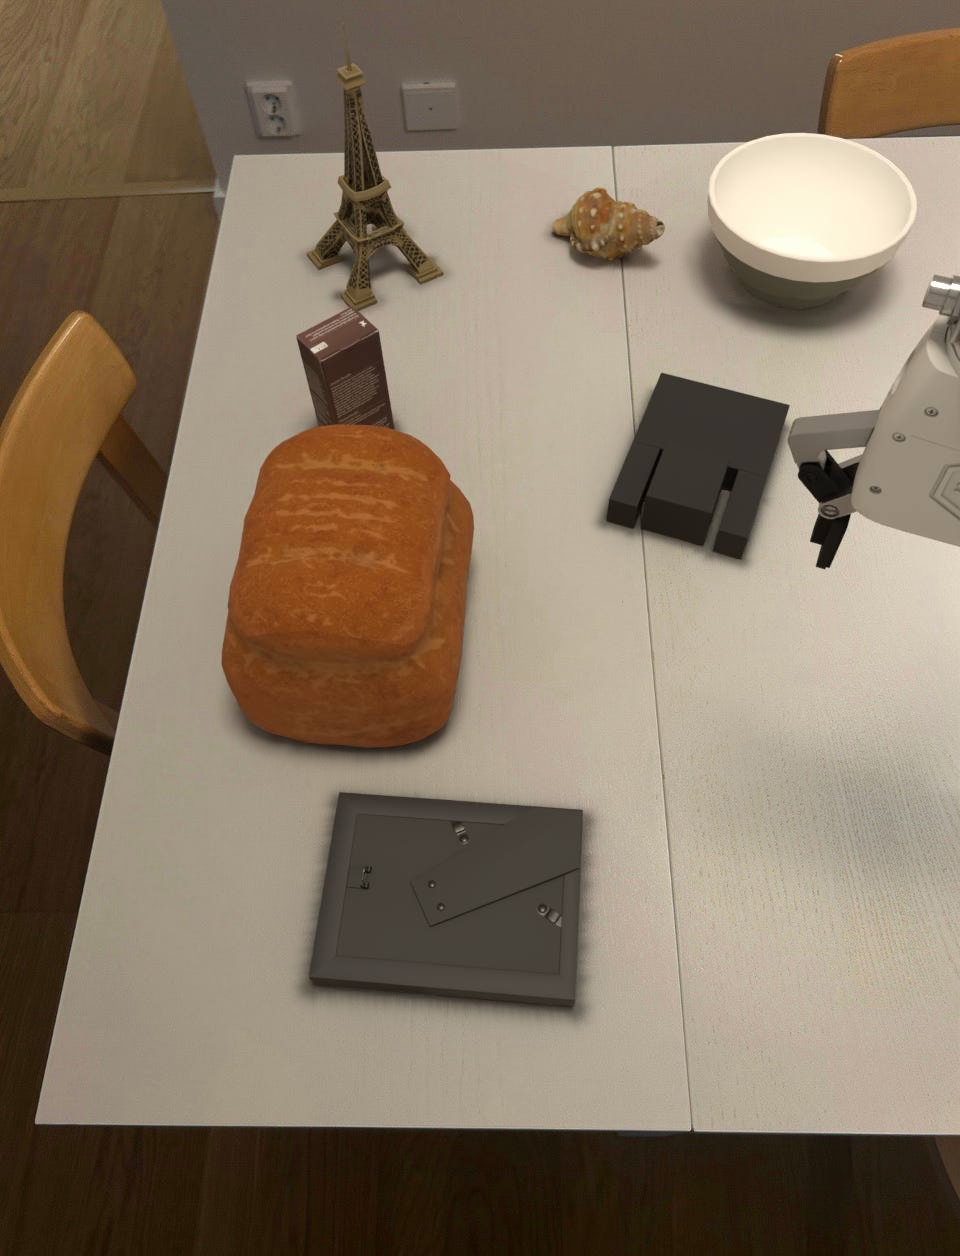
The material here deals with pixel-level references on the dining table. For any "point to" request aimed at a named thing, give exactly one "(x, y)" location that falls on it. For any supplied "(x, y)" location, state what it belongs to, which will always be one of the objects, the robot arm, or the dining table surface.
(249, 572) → the bread
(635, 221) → the seashell
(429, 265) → the eiffel tower
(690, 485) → the dark grey square block
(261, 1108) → the dining table surface
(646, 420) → the forked base block
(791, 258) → the bowl
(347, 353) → the box
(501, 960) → the picture frame
